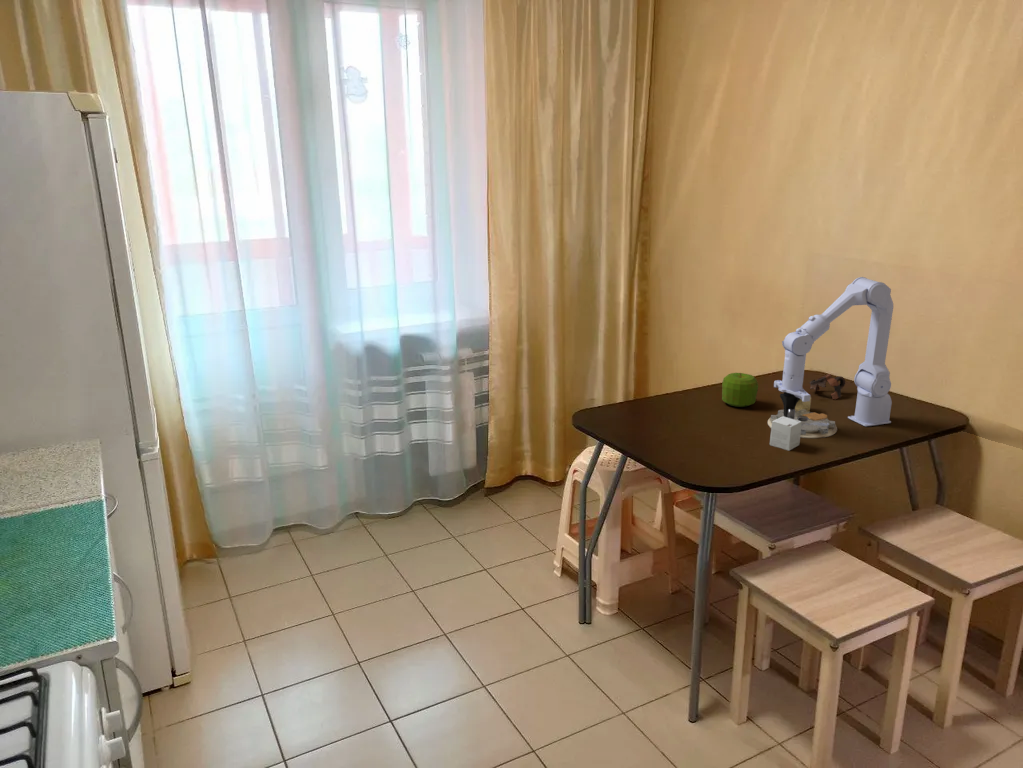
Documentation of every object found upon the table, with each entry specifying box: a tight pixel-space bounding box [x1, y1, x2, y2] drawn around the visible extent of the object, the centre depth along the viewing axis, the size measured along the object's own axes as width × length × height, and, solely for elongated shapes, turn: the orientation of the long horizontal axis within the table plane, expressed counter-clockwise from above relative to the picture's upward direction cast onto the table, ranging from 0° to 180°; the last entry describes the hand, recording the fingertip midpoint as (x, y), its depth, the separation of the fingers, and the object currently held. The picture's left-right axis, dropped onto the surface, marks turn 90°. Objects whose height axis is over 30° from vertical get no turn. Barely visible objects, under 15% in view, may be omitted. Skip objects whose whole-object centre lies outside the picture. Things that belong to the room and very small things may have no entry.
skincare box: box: [769, 416, 802, 451], centre depth 210 cm, size 6×6×7 cm
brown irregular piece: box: [809, 373, 846, 400], centre depth 251 cm, size 12×9×8 cm
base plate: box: [767, 416, 838, 439], centre depth 225 cm, size 20×20×1 cm
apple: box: [721, 372, 759, 408], centre depth 242 cm, size 11×11×11 cm
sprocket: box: [770, 408, 836, 435], centre depth 224 cm, size 18×18×6 cm
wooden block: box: [795, 396, 812, 412], centre depth 237 cm, size 4×3×5 cm
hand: (788, 416), depth 223 cm, fingers closed, pressing on sprocket
